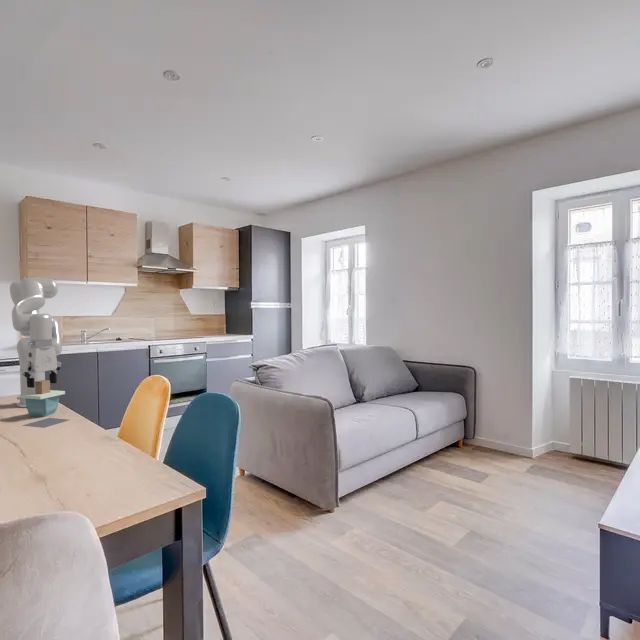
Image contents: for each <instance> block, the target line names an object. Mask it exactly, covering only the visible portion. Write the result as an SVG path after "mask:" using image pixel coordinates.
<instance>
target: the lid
mask: <svg viewBox="0 0 640 640" xmlns="http://www.w3.org/2000/svg"><path fill="white" fill-rule="evenodd" d="M58 395H59V396H63V395H66V391H65V390H55V389H51V383H50V379H47V380H46V379H45V380H41V381H36V382H35V392H32V393H27V394H22V395H21V394H19V397H20V398H27V399H40V400H41V399H45V398H49V397H54V396H58Z"/></svg>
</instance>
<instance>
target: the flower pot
mask: <svg viewBox="0 0 640 640" xmlns="http://www.w3.org/2000/svg"><path fill="white" fill-rule="evenodd" d="M25 401H26V406H27V407H26V410H27V412H28V414H29V416H31V418H34V417H39V418H42V417H44V418H45V417H48V416H50V415H53V414H55V413H56V411H57V409H58V407H59V401H60V395H58V396H54V397H49V398H45V399H41V400H40V399H27V398H25Z"/></svg>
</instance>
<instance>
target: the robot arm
mask: <svg viewBox="0 0 640 640" xmlns="http://www.w3.org/2000/svg"><path fill="white" fill-rule="evenodd" d="M58 291H59V290H58V283H57V281H56V280H55V279H54V278H49V277H25V278H23V279H21V280H16V281H12V283H10V286H9V295H10V298H11V300H12V302H13V305H14V306H13V307H12V310H11V321H12V326H13V329H14V330H15V331H17V332H19V333H20V335H21V336H23V337H24V338H22V339H19V340H18V342H17V344H16V351H17V355H18V356H17V357H18V361H19V379H20V380H19V381H20V384H19V385H20V387H19V388H20V395H22V394H27V393H32V392H35V382H36V381H41V380H46V372H49V374H48V375H49V380H50V384H57V381H58V380H57V379H58V378H57V376H58V375H57V374H58V373H59V371H60V370H61V367H62V362H61V361H59V360H58V359H57V356H59V355H60V354H61V353H62V350H63V343H62V337H61V330H60V329H61V327H60V323H59V320H58V319H57V317H54V316H52V315H51V314H49V313H40V309H41V308H43V307H44V306H45V304H46V299H53V298H55V297H56V296H57V294H58ZM25 337H26V338H25ZM16 400H18V401H19V402H17V403H16V407H18V408H27V406H26V401H25V398H20V396H17V397H16Z"/></svg>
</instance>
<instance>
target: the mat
mask: <svg viewBox="0 0 640 640" xmlns="http://www.w3.org/2000/svg"><path fill="white" fill-rule="evenodd" d="M67 421H69V419H68V418H67V419H65V418H54V417H48V418H44V419H41V420H36V421H33V422H32V421H31V422H29V423H26V424H22V427H23V426H24V427H31V428H42V429H43V428H44V429H45V428H48V427H51V426H55V425H58V424H62V423H65V422H67Z"/></svg>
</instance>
